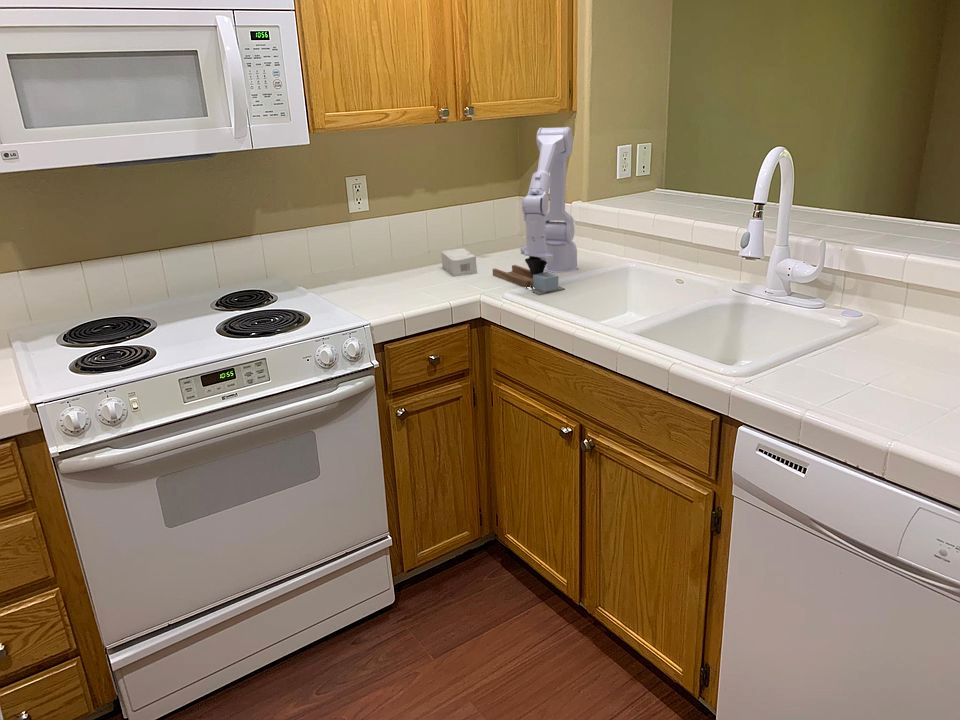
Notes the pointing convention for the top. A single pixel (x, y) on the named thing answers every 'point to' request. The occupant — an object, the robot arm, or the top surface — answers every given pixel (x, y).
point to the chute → (521, 278)
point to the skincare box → (459, 262)
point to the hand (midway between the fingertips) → (537, 281)
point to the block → (545, 282)
